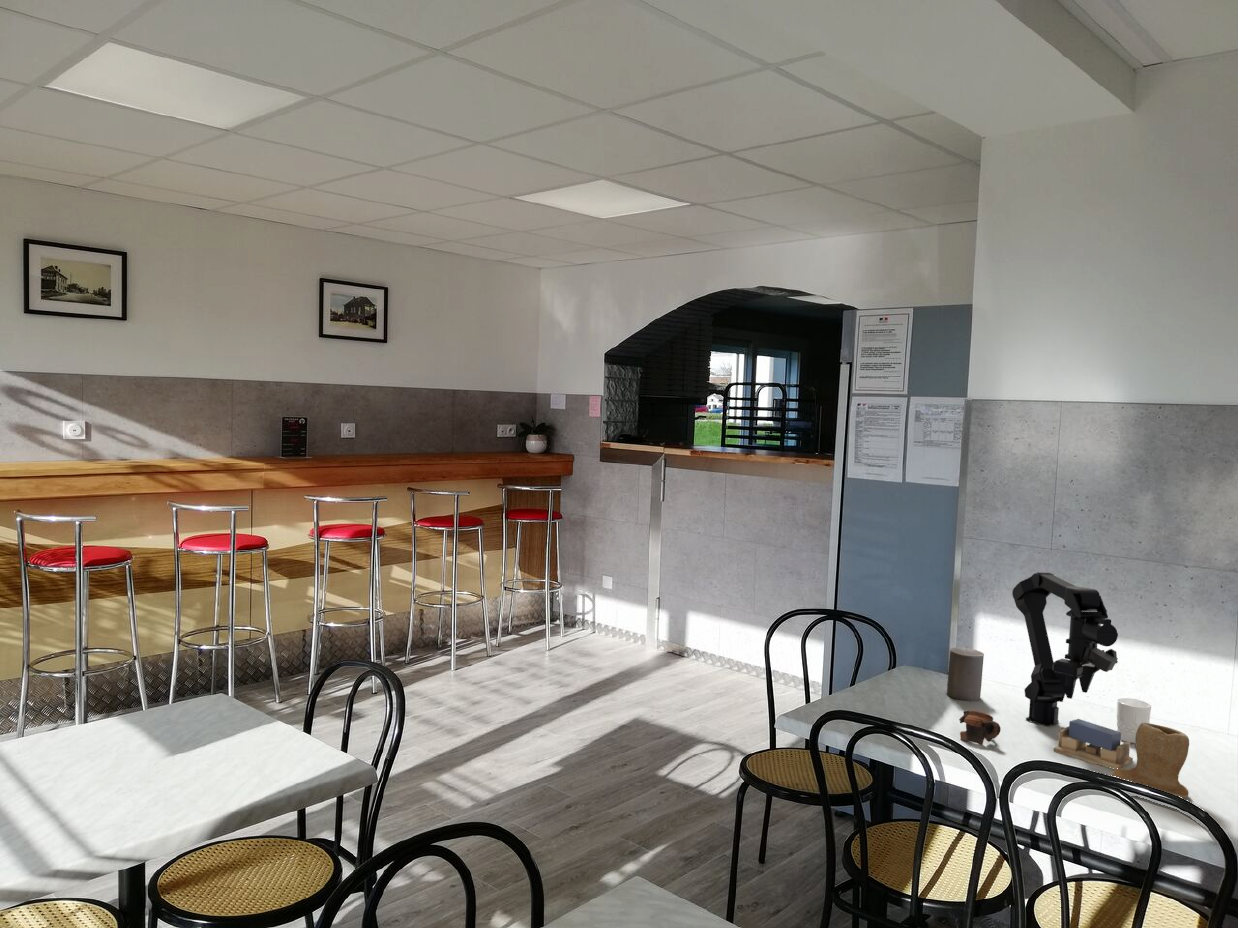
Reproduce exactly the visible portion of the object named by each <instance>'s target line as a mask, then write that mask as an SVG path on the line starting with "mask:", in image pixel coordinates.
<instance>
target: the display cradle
mask: <svg viewBox="0 0 1238 928" xmlns="http://www.w3.org/2000/svg"><path fill="white" fill-rule="evenodd" d="M1058 731H1059V733H1058V745H1057V746H1056V747H1053V751H1054V753H1055V752H1056V753H1059V754H1062V755H1066V756H1069V757H1072V758H1074V759H1078V760H1081V759H1082V761H1085V762H1088V763H1091V762H1092V763H1091V764H1095V765H1098V764H1099V765H1098V766H1101V765H1102V766H1101V767H1104V766H1105V768H1108V767H1111V768H1114V769H1117V768H1120V767H1121V768H1123V767H1125V766H1126V765H1128V764H1130V763H1133V761H1134V760H1133V759H1134V758H1133V757H1132V756H1130V749H1131V748H1130V747H1131V743H1129V742H1126V741H1124V743H1122V744H1121V743H1120V745H1119V746H1118V747H1117V749H1116V750H1113V751H1110V750H1107V749H1104V748H1101V747H1098V746H1095V745H1092V744H1089V743H1086V742H1083V741H1080V740H1077V739H1074V738H1071V737H1068V736H1069V726H1066V727H1064V728H1062V729H1059V730H1058ZM1111 768H1110V769H1111ZM1114 769H1113V770H1114Z"/></svg>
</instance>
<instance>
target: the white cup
mask: <svg viewBox="0 0 1238 928" xmlns="http://www.w3.org/2000/svg"><path fill="white" fill-rule="evenodd" d="M1116 703H1117V704H1116V705H1117V706H1116V708H1117V709H1116V726H1117V729H1116V731H1118V732H1121V741H1123V742H1129V743H1130V744H1135V745H1136V742H1135V738H1136V732H1137V730H1138V728H1139V726H1140V724H1141V723H1150V718H1151V713H1152V712H1151V711H1152V704H1151V703H1149V702H1147V701H1144V700H1141V699H1137V698H1131V697H1130V698H1129V697H1122V698H1121V697H1120V698H1117V702H1116Z"/></svg>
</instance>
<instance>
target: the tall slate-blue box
mask: <svg viewBox="0 0 1238 928" xmlns="http://www.w3.org/2000/svg"><path fill="white" fill-rule="evenodd" d="M1068 737H1071V738H1074V739H1077V740H1080V741H1083V742H1086V744H1088V745H1089V744H1092V745H1095V746H1098V747H1101V748H1104V749H1107V750H1110V751H1113V750H1116V749H1117V747H1118V746H1119V745H1121V742H1122V740H1121V732H1118V731H1117V730H1115V729H1111V728H1110V727H1109V728H1108V727H1105V726H1101V725H1099V724H1097V723H1093V722H1090V721H1086V720H1083V719H1080V718H1077V719H1072V720H1069V736H1068Z"/></svg>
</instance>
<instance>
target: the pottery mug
mask: <svg viewBox="0 0 1238 928" xmlns="http://www.w3.org/2000/svg"><path fill="white" fill-rule="evenodd" d="M962 713H963V715H962V716H961V717H960V718H959V719H958V720H959V724H963V723H965V727H966V730H965V731H964V730H963V731H960V734H959V735H960V736H959V737H960V740H961V741H965V742H966V741H967V742H968V741H969V742H971V743H975V744H978V745H984V741H985V740H986V742H989V743H990V742H991V741H992V740H994V739H996V738H997V737H998V736H999V735H1000V733H1001V730H1002V729H1001V725H1000V724H999V723H998V722H997V721H994V717H993V716H992V715H990V714H988V713H984V712H982V711H977V710H965V711H963V712H962Z"/></svg>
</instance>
